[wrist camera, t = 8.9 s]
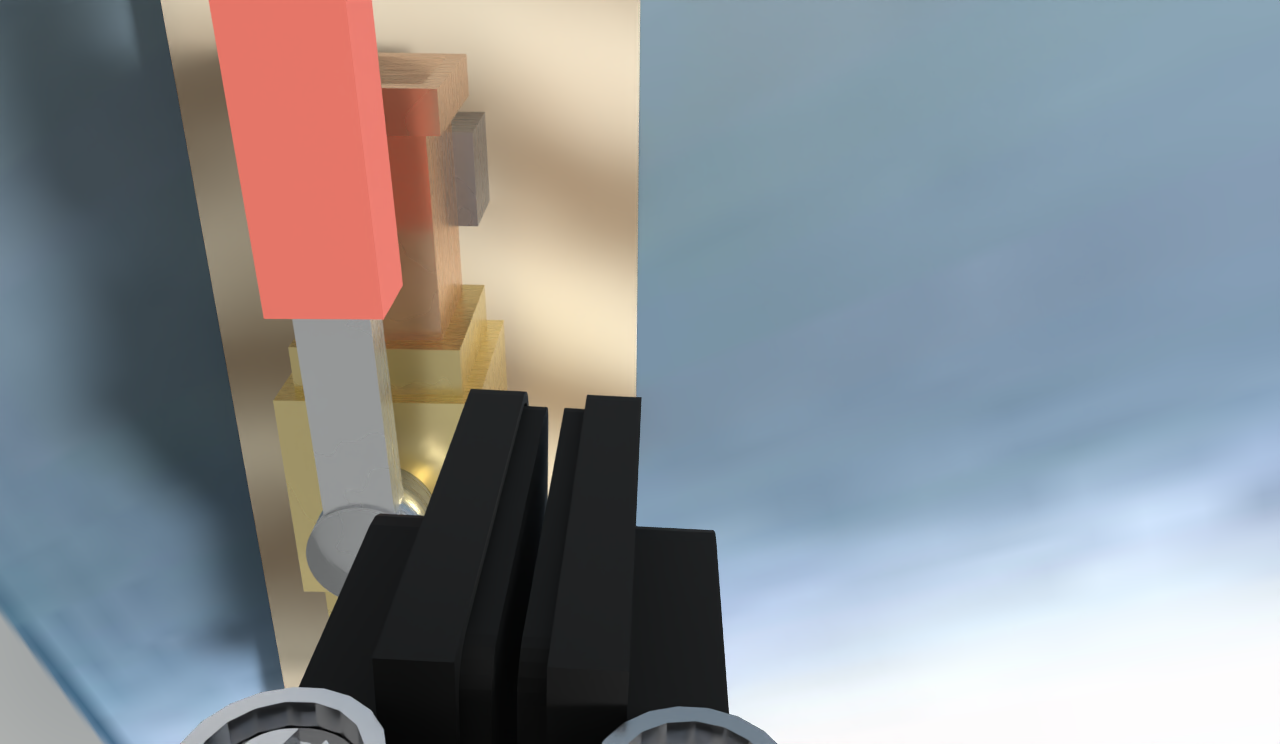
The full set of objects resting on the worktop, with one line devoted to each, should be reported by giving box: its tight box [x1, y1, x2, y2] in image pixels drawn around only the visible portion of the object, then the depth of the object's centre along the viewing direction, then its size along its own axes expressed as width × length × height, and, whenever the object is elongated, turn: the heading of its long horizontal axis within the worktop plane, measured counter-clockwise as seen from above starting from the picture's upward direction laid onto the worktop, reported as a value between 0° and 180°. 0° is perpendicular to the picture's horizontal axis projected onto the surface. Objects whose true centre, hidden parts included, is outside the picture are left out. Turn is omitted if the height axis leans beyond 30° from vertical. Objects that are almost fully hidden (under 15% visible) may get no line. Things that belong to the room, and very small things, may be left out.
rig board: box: [161, 0, 640, 688], centre depth 33 cm, size 26×12×1 cm, turn 179°
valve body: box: [273, 53, 507, 617], centre depth 29 cm, size 20×5×6 cm, turn 179°
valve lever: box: [209, 0, 432, 596], centre depth 23 cm, size 14×3×2 cm, turn 0°
